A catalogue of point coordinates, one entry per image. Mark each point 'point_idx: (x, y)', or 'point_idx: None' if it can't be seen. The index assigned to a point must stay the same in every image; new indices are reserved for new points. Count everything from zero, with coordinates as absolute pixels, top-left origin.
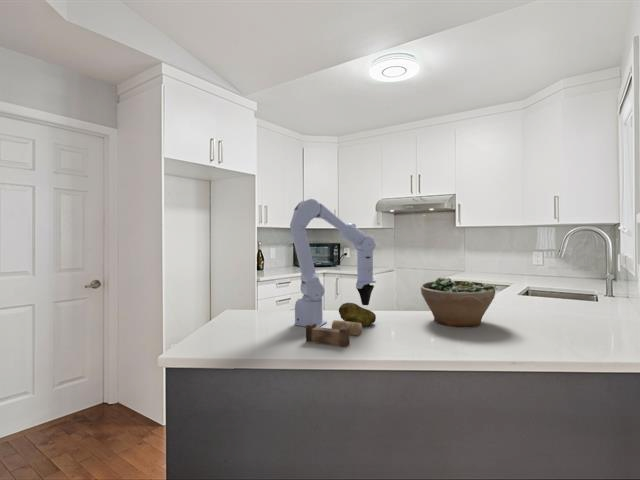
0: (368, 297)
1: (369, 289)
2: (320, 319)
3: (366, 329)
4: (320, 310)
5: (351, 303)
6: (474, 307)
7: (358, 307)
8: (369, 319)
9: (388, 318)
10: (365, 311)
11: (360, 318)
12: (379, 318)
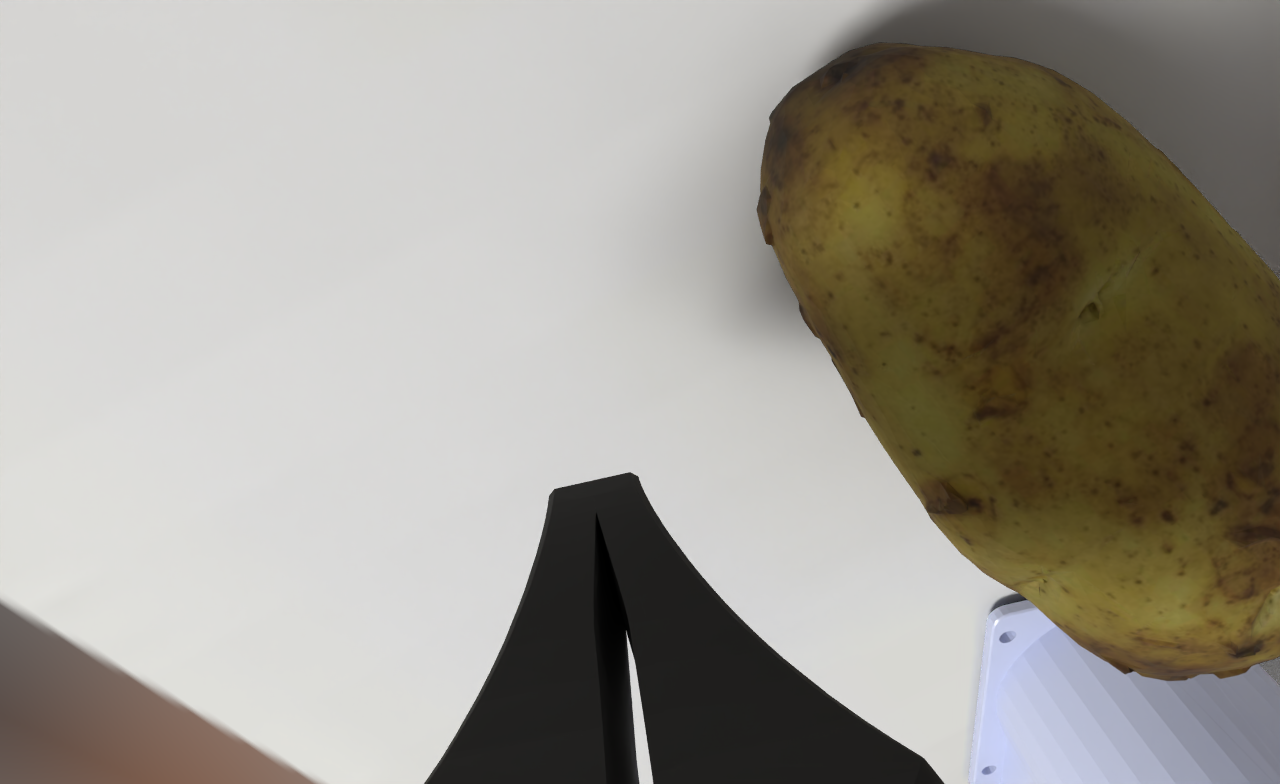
0: (704, 583)
1: (932, 773)
2: None
3: (1168, 21)
4: (1276, 739)
5: (1273, 572)
6: None
7: (1251, 394)
8: (1078, 87)
9: (190, 43)
10: (1114, 248)
11: (1216, 210)
12: (338, 205)
